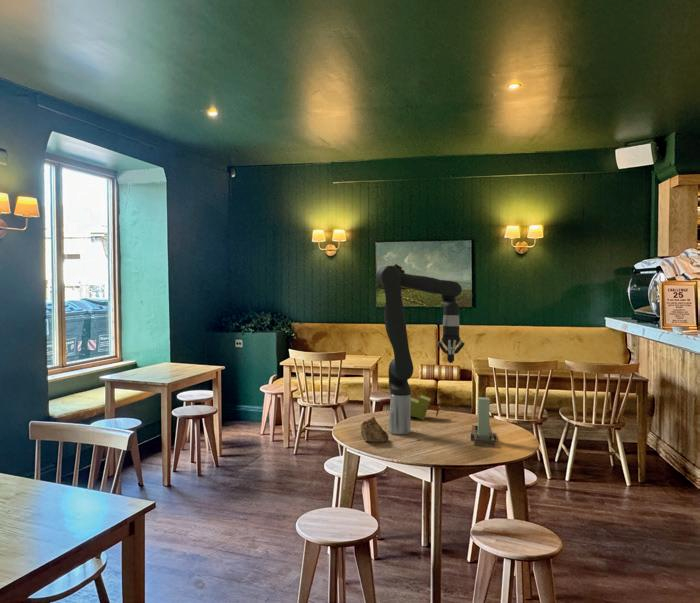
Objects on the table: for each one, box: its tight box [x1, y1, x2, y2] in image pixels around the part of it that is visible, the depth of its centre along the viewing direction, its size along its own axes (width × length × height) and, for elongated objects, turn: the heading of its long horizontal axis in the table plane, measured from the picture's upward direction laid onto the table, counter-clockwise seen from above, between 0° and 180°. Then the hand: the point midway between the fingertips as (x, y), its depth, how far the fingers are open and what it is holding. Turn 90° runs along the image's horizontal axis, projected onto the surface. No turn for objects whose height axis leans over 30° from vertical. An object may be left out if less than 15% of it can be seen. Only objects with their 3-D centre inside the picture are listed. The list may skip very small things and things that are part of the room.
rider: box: [477, 396, 491, 440], centre depth 215 cm, size 6×5×17 cm
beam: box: [470, 425, 497, 448], centre depth 218 cm, size 24×10×3 cm, turn 169°
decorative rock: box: [360, 416, 390, 443], centre depth 213 cm, size 12×6×11 cm, turn 105°
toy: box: [411, 394, 441, 421], centre depth 256 cm, size 9×12×20 cm
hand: (450, 362), depth 234 cm, fingers closed
